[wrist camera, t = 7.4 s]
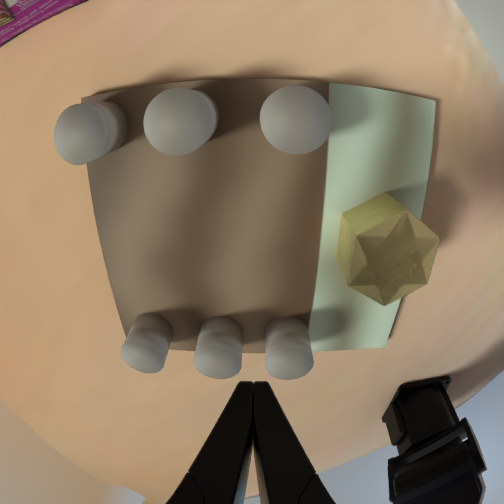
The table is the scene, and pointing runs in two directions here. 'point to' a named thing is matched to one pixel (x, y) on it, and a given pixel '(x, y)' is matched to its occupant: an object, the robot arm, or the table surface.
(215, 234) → the board
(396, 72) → the table surface
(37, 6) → the candy bar box
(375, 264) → the hexagonal box
